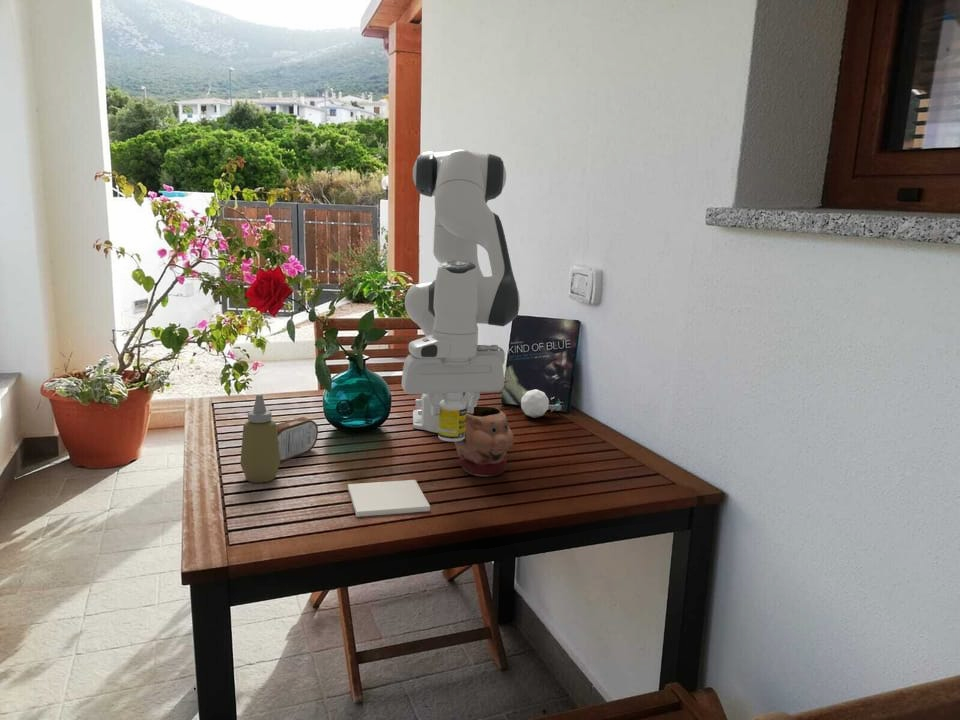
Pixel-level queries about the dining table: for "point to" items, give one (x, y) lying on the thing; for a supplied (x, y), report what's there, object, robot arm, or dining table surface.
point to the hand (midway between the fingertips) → (452, 413)
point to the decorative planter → (485, 442)
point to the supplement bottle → (452, 417)
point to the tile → (387, 498)
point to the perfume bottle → (537, 403)
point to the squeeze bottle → (260, 445)
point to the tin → (296, 437)
